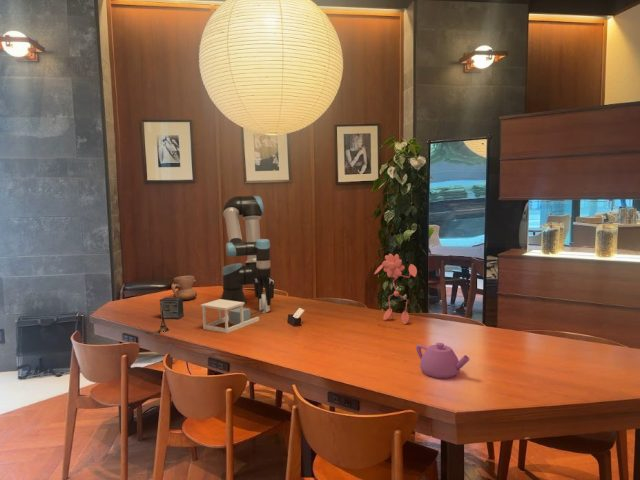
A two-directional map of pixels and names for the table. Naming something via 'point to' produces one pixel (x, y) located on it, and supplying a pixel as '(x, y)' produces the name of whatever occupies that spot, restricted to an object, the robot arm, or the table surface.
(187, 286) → the ceramic jug
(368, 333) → the table surface
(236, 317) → the block
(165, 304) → the small box
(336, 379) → the table surface
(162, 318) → the eiffel tower figurine
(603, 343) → the table surface
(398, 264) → the pink flower figurine
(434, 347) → the teapot
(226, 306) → the frame
